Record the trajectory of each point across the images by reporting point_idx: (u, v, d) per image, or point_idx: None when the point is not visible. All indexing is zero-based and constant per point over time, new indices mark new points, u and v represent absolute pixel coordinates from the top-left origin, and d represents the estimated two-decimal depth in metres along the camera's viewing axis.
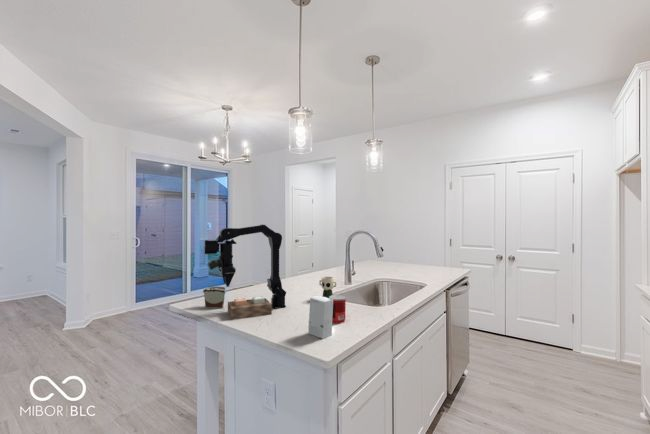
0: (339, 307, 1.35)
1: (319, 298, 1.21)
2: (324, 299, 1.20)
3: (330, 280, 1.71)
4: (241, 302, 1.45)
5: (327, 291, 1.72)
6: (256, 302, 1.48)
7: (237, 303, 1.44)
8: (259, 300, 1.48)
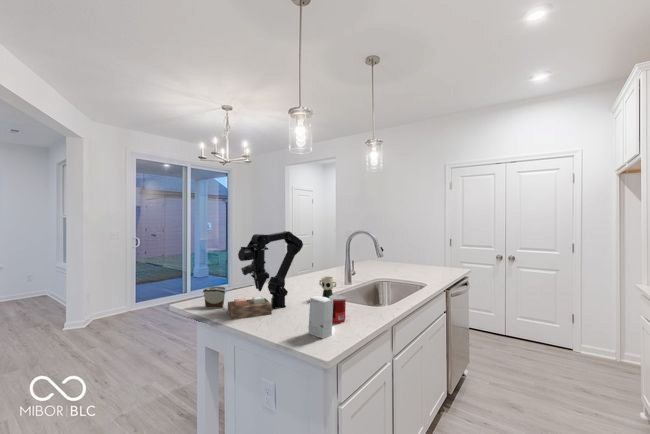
0: (339, 307, 1.35)
1: (319, 298, 1.21)
2: (324, 299, 1.20)
3: (330, 280, 1.71)
4: (241, 302, 1.45)
5: (327, 291, 1.72)
6: (256, 302, 1.48)
7: (237, 303, 1.44)
8: (259, 300, 1.48)
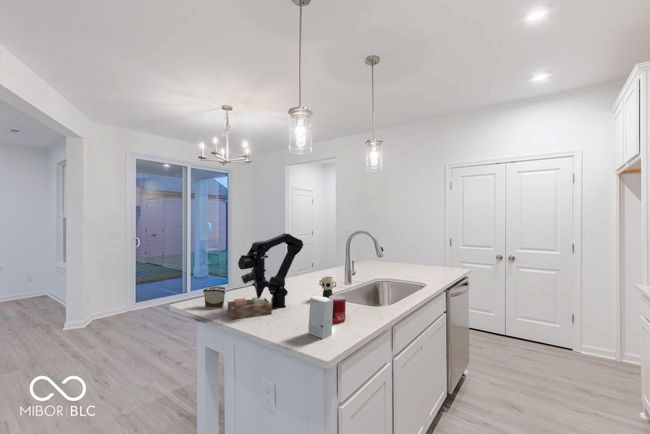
0: (339, 307, 1.35)
1: (319, 298, 1.21)
2: (324, 299, 1.20)
3: (330, 280, 1.71)
4: (241, 302, 1.45)
5: (327, 291, 1.72)
6: (256, 302, 1.48)
7: (237, 303, 1.44)
8: (259, 300, 1.48)
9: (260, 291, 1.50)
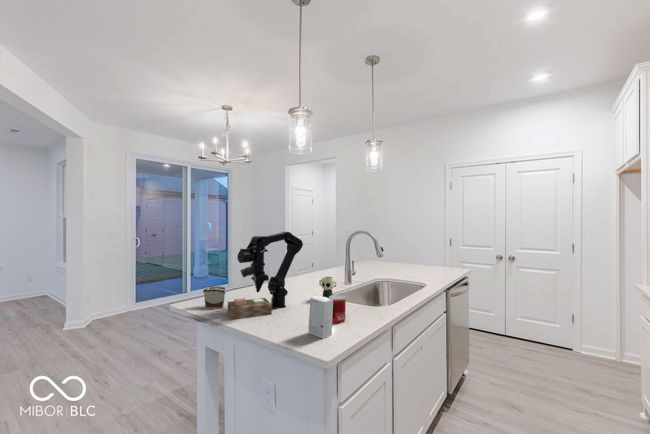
0: (339, 307, 1.35)
1: (319, 298, 1.21)
2: (324, 299, 1.20)
3: (330, 280, 1.71)
4: (241, 302, 1.45)
5: (327, 291, 1.72)
6: None
7: (237, 303, 1.44)
8: (259, 302, 1.48)
9: (259, 285, 1.50)
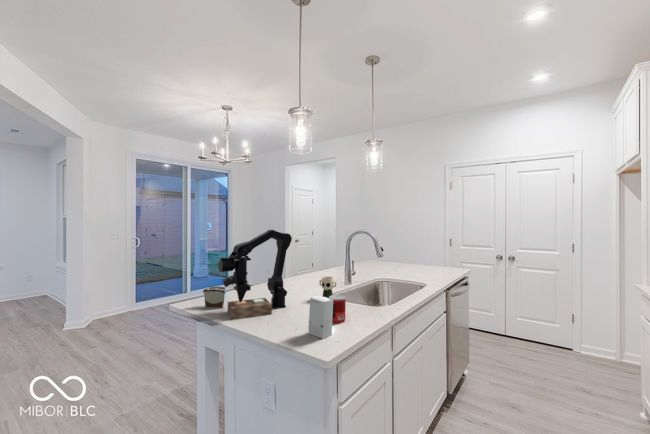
0: (339, 307, 1.35)
1: (319, 298, 1.21)
2: (324, 299, 1.20)
3: (330, 280, 1.71)
4: (241, 304, 1.44)
5: (327, 291, 1.72)
6: None
7: (237, 305, 1.44)
8: (259, 302, 1.48)
9: (242, 295, 1.46)
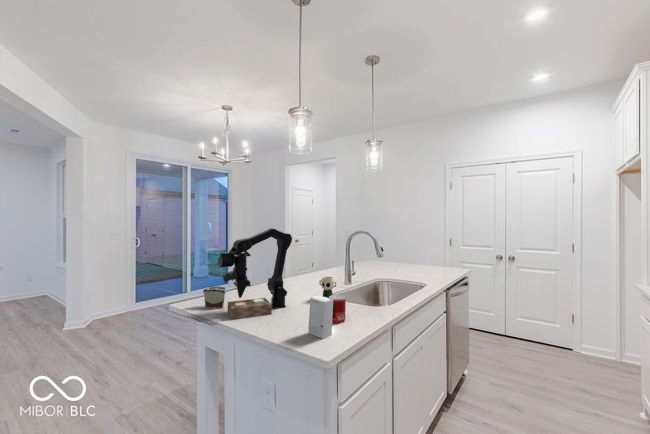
0: (339, 307, 1.35)
1: (319, 298, 1.21)
2: (324, 299, 1.20)
3: (330, 280, 1.71)
4: None
5: (327, 291, 1.72)
6: None
7: None
8: (259, 302, 1.48)
9: (241, 290, 1.46)
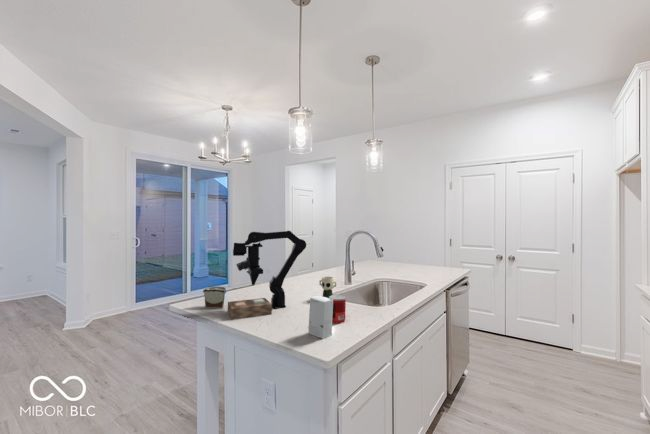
0: (339, 307, 1.35)
1: (319, 298, 1.21)
2: (324, 299, 1.20)
3: (330, 280, 1.71)
4: None
5: (327, 291, 1.72)
6: None
7: None
8: (259, 302, 1.48)
9: (254, 278, 1.56)
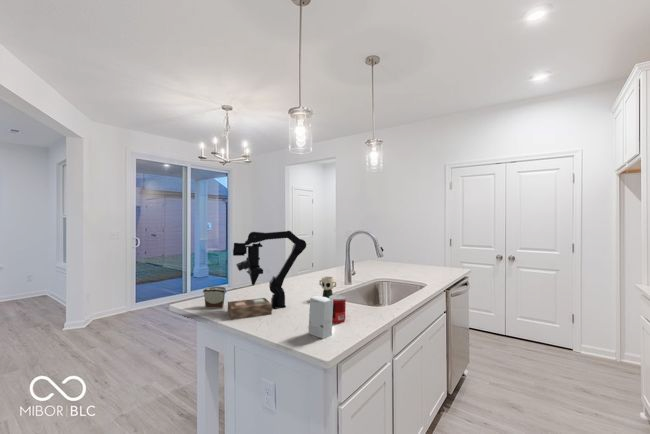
0: (339, 307, 1.35)
1: (319, 298, 1.21)
2: (324, 299, 1.20)
3: (330, 280, 1.71)
4: None
5: (327, 291, 1.72)
6: None
7: None
8: (259, 302, 1.48)
9: (254, 278, 1.56)
